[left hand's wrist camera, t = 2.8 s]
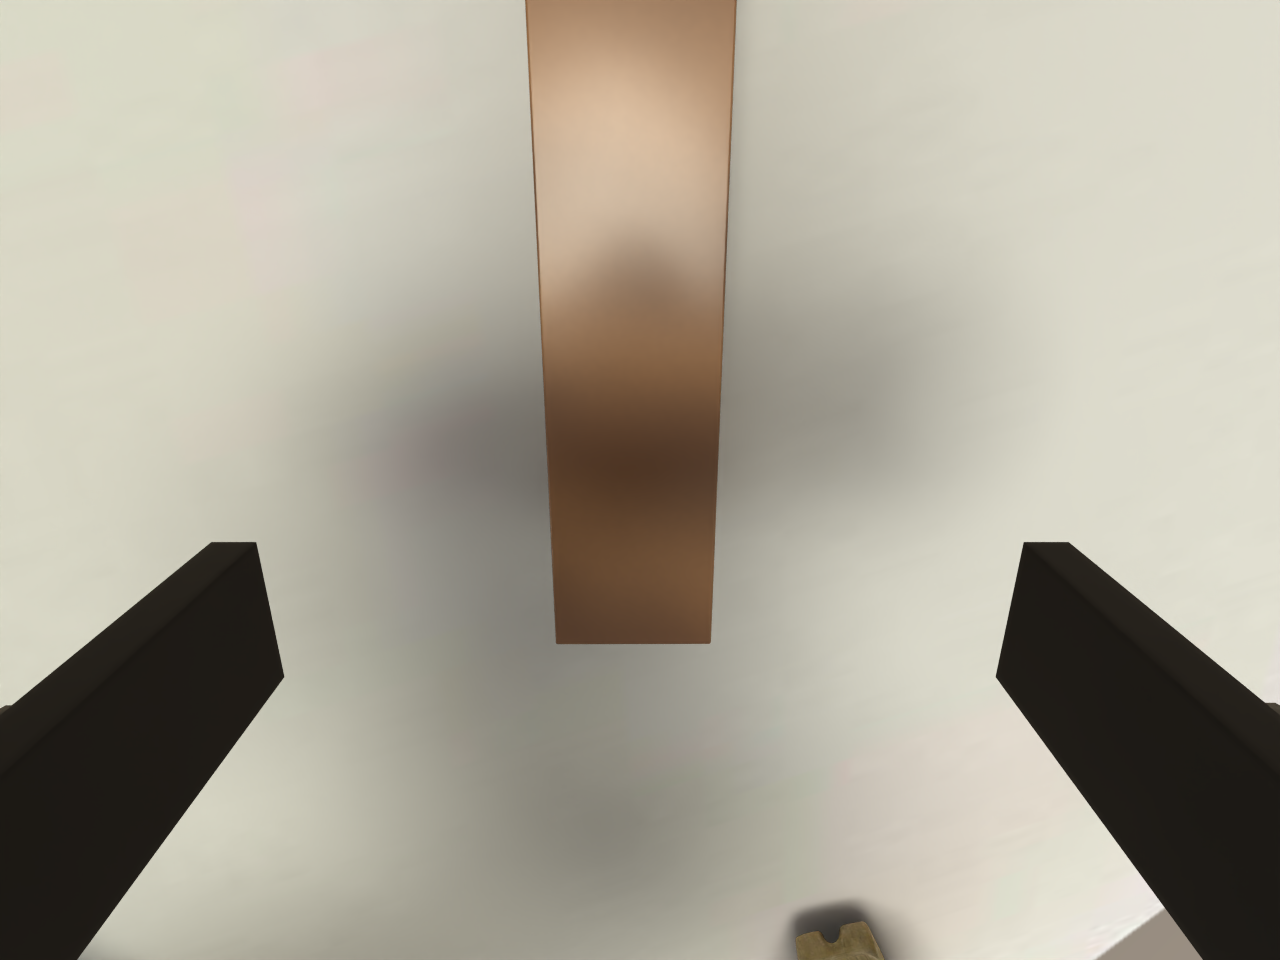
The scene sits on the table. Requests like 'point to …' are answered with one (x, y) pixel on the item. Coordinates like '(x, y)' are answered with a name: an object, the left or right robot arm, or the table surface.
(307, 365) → the table surface
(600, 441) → the post
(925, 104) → the table surface
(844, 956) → the sculpture
